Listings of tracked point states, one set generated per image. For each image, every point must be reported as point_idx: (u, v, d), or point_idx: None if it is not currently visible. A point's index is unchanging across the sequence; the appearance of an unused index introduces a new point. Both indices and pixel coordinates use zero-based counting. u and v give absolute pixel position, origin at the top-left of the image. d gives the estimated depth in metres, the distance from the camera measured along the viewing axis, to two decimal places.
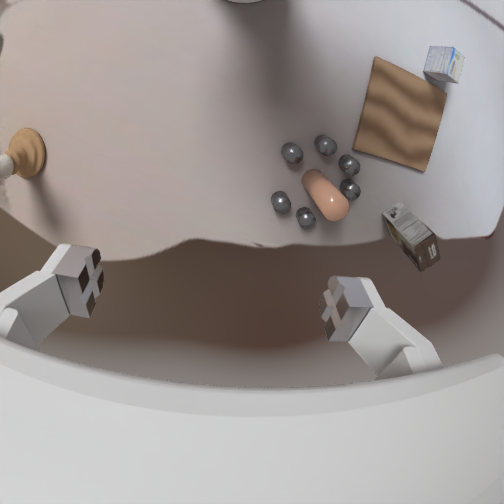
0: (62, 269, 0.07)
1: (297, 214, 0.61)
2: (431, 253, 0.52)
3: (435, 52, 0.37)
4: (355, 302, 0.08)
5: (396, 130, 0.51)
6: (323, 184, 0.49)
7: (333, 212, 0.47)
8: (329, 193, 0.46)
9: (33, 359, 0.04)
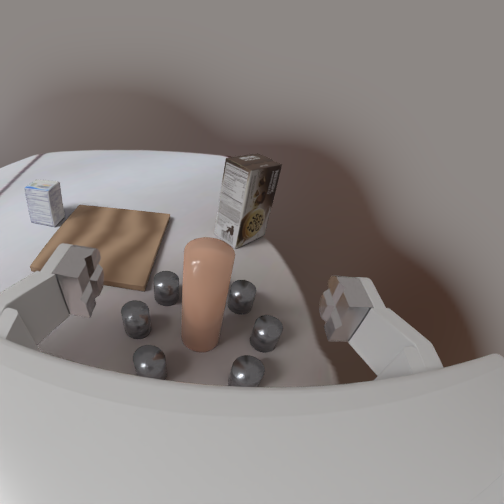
0: (62, 269, 0.07)
1: (264, 349, 0.35)
2: (252, 158, 0.48)
3: (33, 212, 0.44)
4: (355, 302, 0.08)
5: (118, 245, 0.45)
6: (184, 296, 0.29)
7: (217, 254, 0.27)
8: (186, 271, 0.27)
9: (33, 359, 0.04)
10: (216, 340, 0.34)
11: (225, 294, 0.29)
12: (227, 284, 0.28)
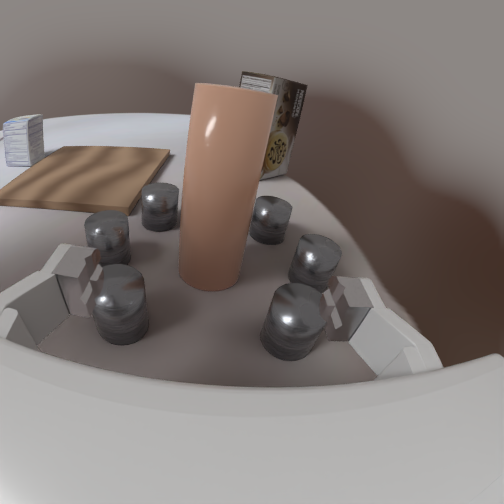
0: (62, 269, 0.07)
1: (314, 286, 0.22)
2: None
3: (10, 152, 0.31)
4: (355, 302, 0.08)
5: (101, 172, 0.32)
6: (187, 170, 0.16)
7: (250, 90, 0.14)
8: (196, 111, 0.14)
9: (33, 359, 0.04)
10: (237, 270, 0.21)
11: (260, 163, 0.16)
12: (265, 141, 0.15)
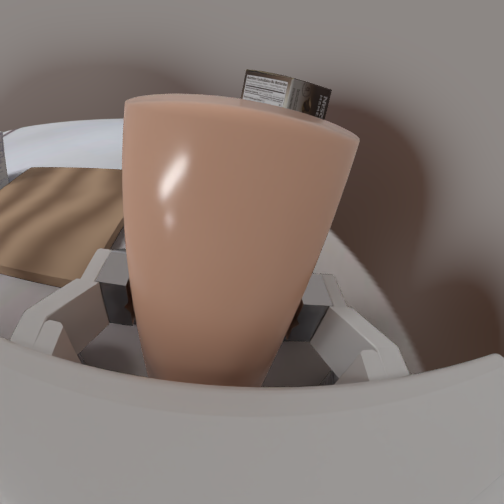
0: (106, 276, 0.07)
1: None
2: None
3: None
4: (311, 300, 0.08)
5: (61, 212, 0.23)
6: (135, 313, 0.07)
7: (283, 115, 0.05)
8: (125, 189, 0.05)
9: (33, 359, 0.04)
10: None
11: (298, 304, 0.07)
12: (316, 261, 0.06)
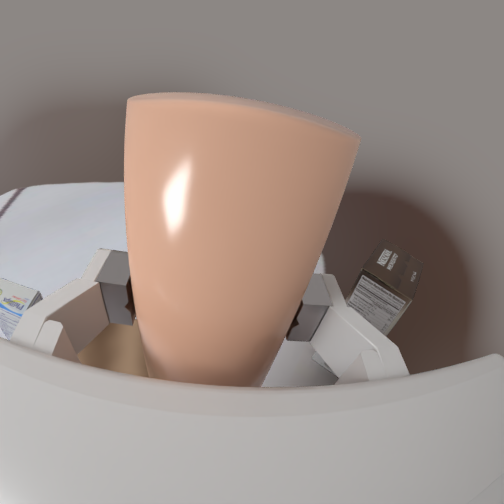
0: (106, 276, 0.07)
1: None
2: (391, 259, 0.28)
3: (10, 335, 0.23)
4: (311, 300, 0.08)
5: None
6: (136, 312, 0.07)
7: (285, 114, 0.05)
8: (128, 187, 0.05)
9: (33, 359, 0.04)
10: None
11: (299, 302, 0.07)
12: (317, 259, 0.06)
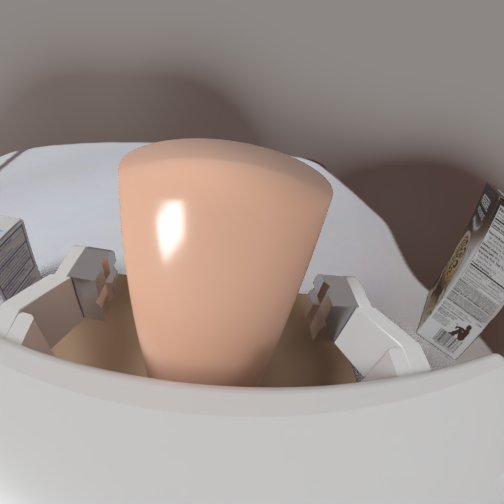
0: (78, 271, 0.07)
1: None
2: None
3: None
4: (339, 301, 0.08)
5: None
6: (139, 339, 0.08)
7: (263, 172, 0.06)
8: (125, 246, 0.06)
9: (33, 359, 0.04)
10: None
11: (281, 332, 0.08)
12: (294, 299, 0.07)
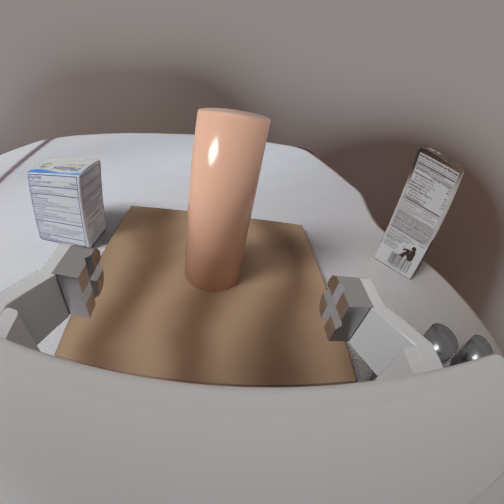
0: (62, 269, 0.07)
1: None
2: (437, 152, 0.27)
3: (45, 221, 0.24)
4: (355, 302, 0.08)
5: (253, 290, 0.24)
6: (192, 187, 0.19)
7: (246, 115, 0.17)
8: (199, 136, 0.17)
9: (33, 359, 0.04)
10: (236, 272, 0.24)
11: (255, 181, 0.19)
12: (259, 162, 0.18)
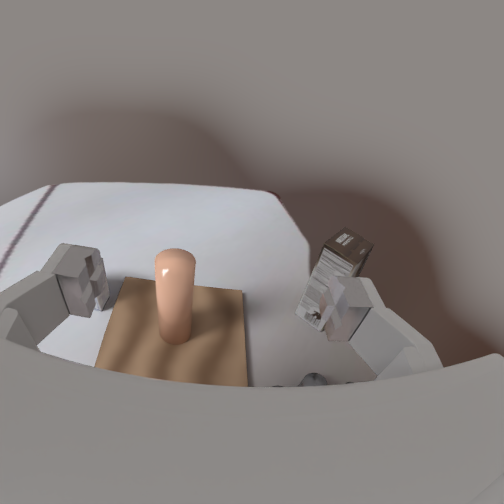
0: (62, 268, 0.07)
1: None
2: (347, 239, 0.43)
3: None
4: (355, 302, 0.08)
5: (197, 344, 0.40)
6: (157, 297, 0.34)
7: (181, 263, 0.32)
8: (156, 276, 0.32)
9: (33, 359, 0.04)
10: (187, 335, 0.39)
11: (189, 295, 0.34)
12: (190, 287, 0.34)
